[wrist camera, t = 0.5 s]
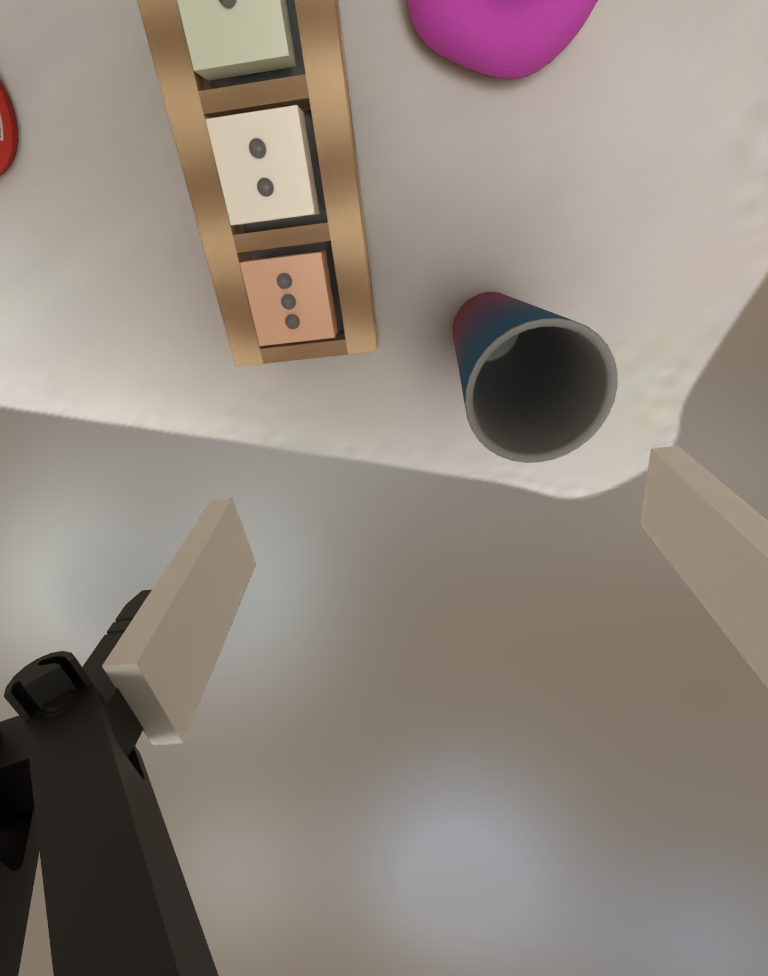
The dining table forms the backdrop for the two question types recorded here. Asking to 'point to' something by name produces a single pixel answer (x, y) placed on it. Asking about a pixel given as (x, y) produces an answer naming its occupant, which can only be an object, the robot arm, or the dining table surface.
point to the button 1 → (237, 36)
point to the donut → (499, 32)
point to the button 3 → (290, 298)
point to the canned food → (6, 131)
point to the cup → (531, 378)
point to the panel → (337, 160)
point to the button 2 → (264, 165)
